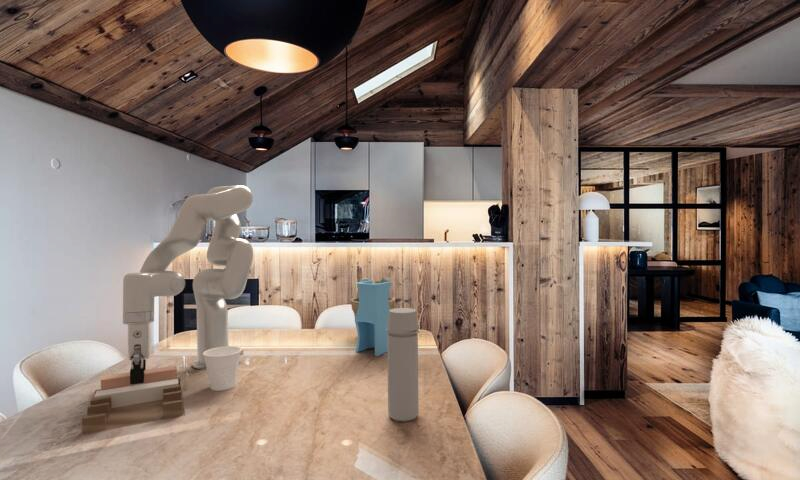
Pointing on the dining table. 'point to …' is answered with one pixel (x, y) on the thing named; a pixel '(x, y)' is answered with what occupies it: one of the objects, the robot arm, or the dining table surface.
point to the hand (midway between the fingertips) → (138, 378)
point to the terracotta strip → (149, 377)
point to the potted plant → (386, 279)
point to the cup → (222, 367)
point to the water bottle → (402, 364)
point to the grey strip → (136, 393)
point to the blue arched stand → (372, 316)
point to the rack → (132, 411)
